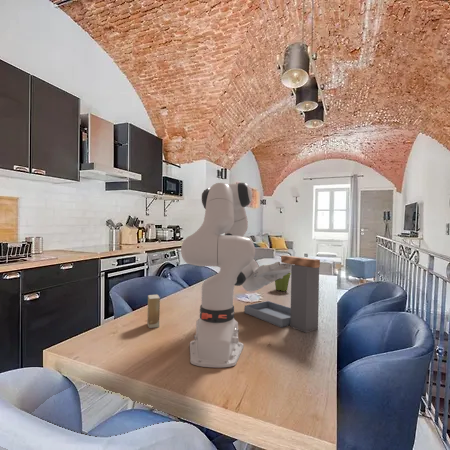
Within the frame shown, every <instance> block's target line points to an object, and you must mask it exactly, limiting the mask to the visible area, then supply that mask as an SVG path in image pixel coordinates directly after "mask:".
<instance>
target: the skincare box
mask: <svg viewBox="0 0 450 450" xmlns="http://www.w3.org/2000/svg"><path fill="white" fill-rule="evenodd" d="M160 304H161V297H160V296H159V294H148V295H147V317H146V318H147V324H146V325H147V327H148V329H153V328H154V329H155V328H160V313H161V312H160V308H161V305H160Z"/></svg>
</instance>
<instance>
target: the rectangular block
mask: <svg viewBox="0 0 450 450" xmlns="http://www.w3.org/2000/svg"><path fill="white" fill-rule="evenodd" d="M280 263H288V264H294V265H301V266H307V267H313V268H317V267H319V268H320V267H321V259H317V258H309V257H308V258H307V257H301V256H295V255H281V257H280Z"/></svg>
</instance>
